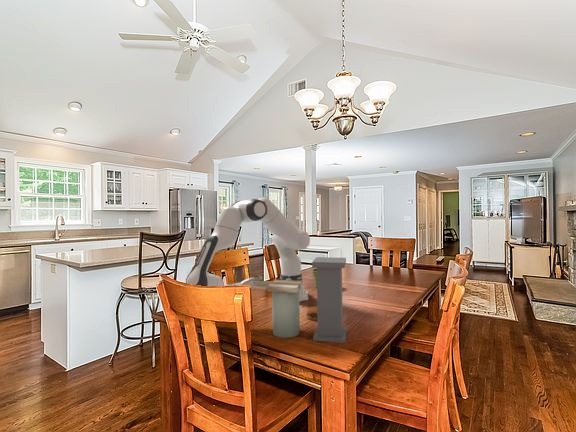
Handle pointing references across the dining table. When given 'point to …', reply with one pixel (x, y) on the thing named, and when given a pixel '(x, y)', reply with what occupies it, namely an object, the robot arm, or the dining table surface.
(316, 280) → the plant pot
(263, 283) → the cutting board
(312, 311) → the burger
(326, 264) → the plinth
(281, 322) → the crock
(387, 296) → the dining table surface
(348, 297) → the dining table surface
